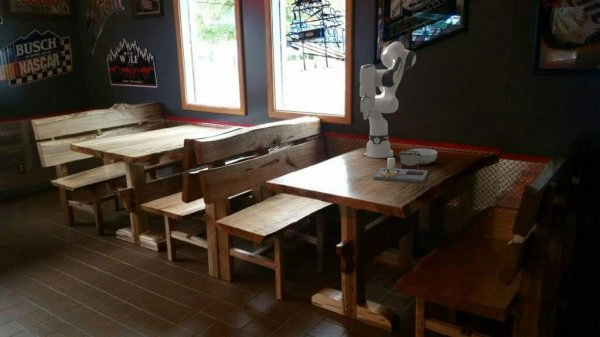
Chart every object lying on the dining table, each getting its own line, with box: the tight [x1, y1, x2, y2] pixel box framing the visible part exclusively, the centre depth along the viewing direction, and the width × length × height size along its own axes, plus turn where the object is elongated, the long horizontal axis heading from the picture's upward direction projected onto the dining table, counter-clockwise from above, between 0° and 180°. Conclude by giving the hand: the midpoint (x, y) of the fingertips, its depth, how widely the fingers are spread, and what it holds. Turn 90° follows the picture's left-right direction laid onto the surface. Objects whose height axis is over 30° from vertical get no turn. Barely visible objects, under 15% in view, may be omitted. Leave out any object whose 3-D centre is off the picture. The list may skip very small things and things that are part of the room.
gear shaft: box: [386, 157, 398, 174], centre depth 270 cm, size 7×7×9 cm
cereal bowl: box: [410, 148, 438, 165], centre depth 294 cm, size 17×17×7 cm
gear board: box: [372, 167, 429, 184], centre depth 266 cm, size 20×26×5 cm
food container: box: [399, 149, 421, 170], centre depth 282 cm, size 12×6×10 cm, turn 74°
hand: (367, 118), depth 280 cm, fingers open, 8 cm apart
